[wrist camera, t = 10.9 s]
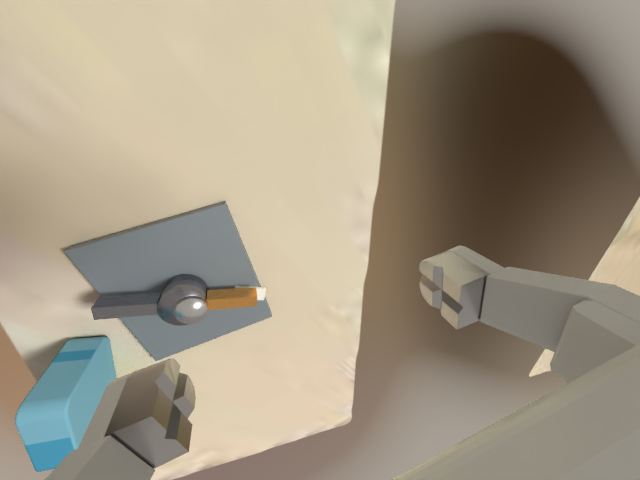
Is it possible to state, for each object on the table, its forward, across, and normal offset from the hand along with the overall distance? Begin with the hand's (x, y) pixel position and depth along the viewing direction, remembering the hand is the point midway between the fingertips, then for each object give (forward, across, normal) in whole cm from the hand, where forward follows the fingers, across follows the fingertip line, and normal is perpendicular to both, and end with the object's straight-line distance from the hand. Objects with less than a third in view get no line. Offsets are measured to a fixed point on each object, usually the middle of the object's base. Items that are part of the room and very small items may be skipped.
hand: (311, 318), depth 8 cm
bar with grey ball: (+29, +15, +15) cm, 36 cm away
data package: (+31, +33, +23) cm, 51 cm away
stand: (+31, +15, +15) cm, 38 cm away
